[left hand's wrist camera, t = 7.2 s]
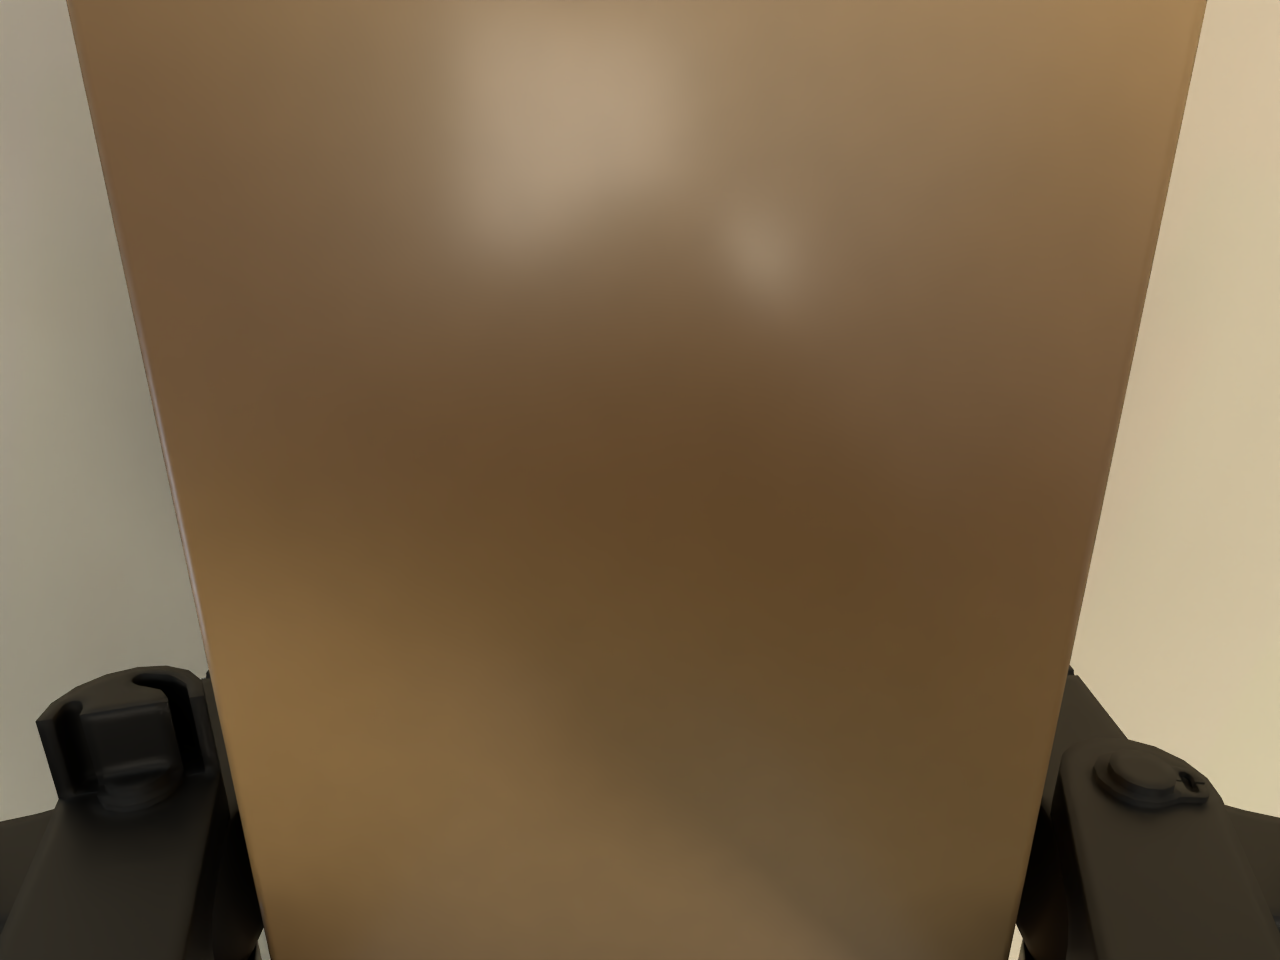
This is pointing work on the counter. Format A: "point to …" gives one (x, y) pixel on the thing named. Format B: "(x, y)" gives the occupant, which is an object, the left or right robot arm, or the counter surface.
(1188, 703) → the counter surface
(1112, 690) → the counter surface
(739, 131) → the post
